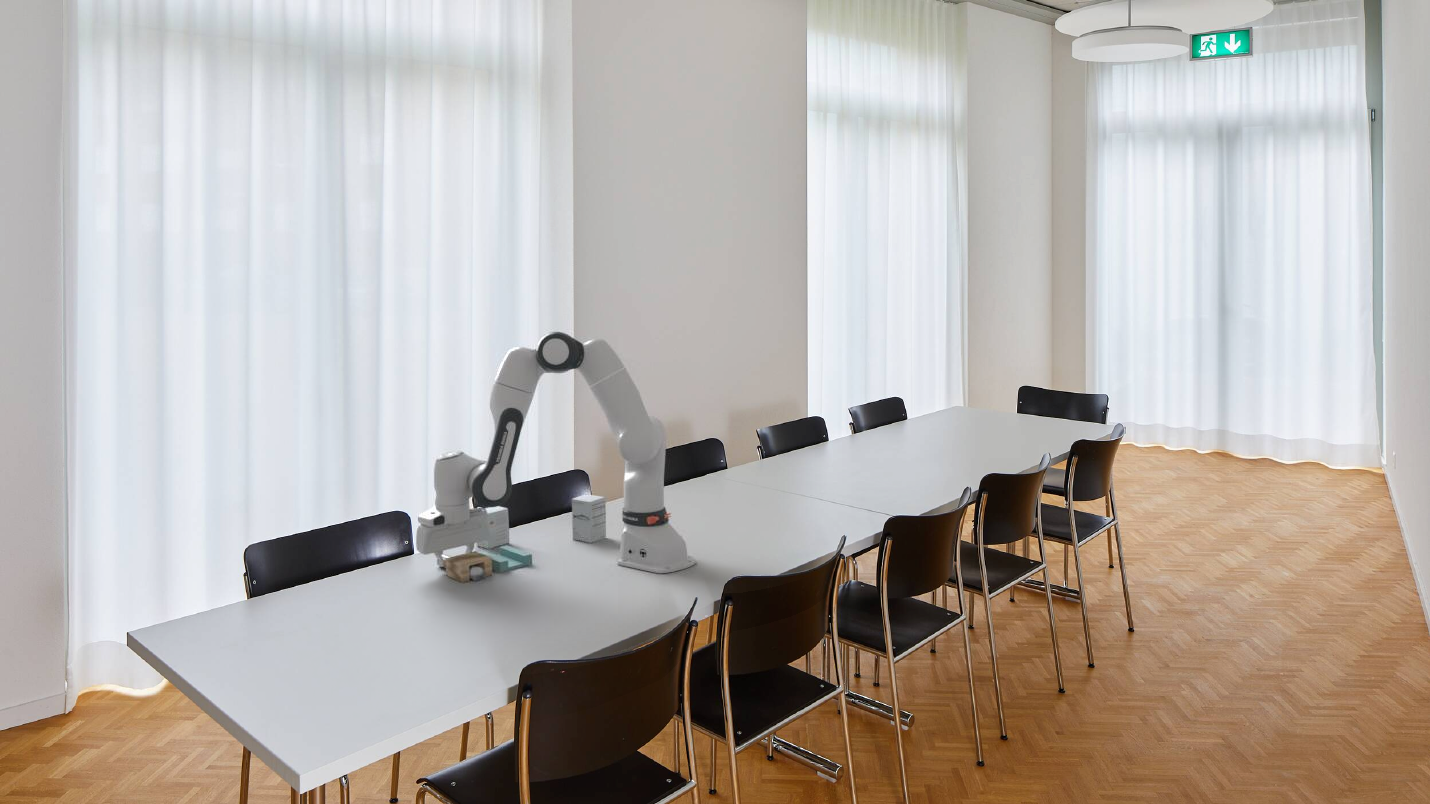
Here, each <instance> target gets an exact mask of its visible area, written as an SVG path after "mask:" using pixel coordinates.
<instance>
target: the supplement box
mask: <svg viewBox="0 0 1430 804" xmlns="http://www.w3.org/2000/svg"><path fill="white" fill-rule="evenodd" d="M606 502H607V501H606V497H605V496H599V495H595V494H594V495H593V494H588V493H587V494H583V495H580V496H576V497H574V498H571V509H572V510H571V511H572V512H571V513H572V514H571V518H572V521H571V522H572V523H571V524H572V526H571V527H572V540H573V539H574V540H575V541H579V540H580V542H584V541H585V542H586V543H589V544H593V543H596V542H598V541H597V540H599V541H600V539H601V540H603V539H602V538H604V539H606V538H607V517H606V516H607V515H606V514H607V511H606V510H607V509H606V504H607V503H606ZM605 537H606V538H605ZM574 540H573V541H574ZM581 540H582V541H581ZM595 541H596V542H595ZM592 542H593V543H592Z"/></svg>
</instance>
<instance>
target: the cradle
mask: <svg viewBox="0 0 1430 804" xmlns="http://www.w3.org/2000/svg"><path fill="white" fill-rule="evenodd" d="M498 548H499V551H498V552H499V554H493V553H490V552H487V551H485V550H483V551H478V552H479V553H481V554H484V555H487V556H489V557H492V571H493V570H494V571H497V572H498V571H499V573H503V571H504V572H508V571H512V570H516V569H518V568H522V567H525V566H530V565H533V554H532V553H529V552H527V551H523V550H522V549H519V548H517V547H516V548H515V547H513V546H510V545H507V544H505V545H503V546H502V545H501V546H498ZM529 564H530V565H529Z"/></svg>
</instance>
